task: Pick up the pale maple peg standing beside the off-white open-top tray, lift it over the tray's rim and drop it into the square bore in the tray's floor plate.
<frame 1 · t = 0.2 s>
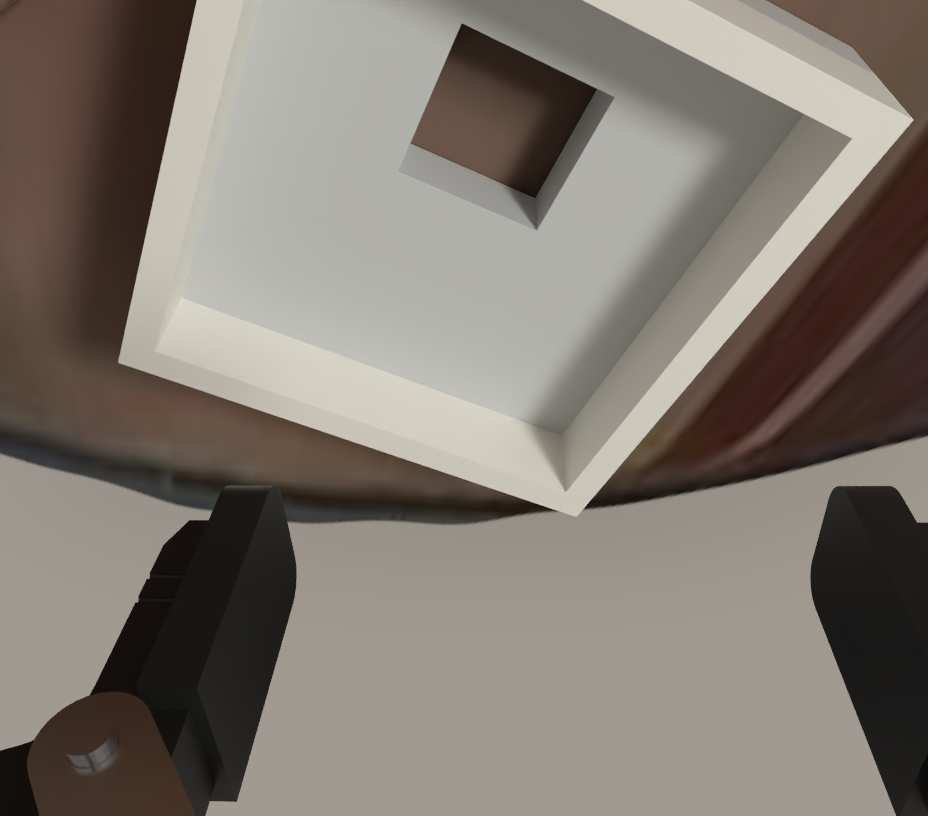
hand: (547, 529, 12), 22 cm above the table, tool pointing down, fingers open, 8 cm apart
tray: (469, 174, 33), on the table
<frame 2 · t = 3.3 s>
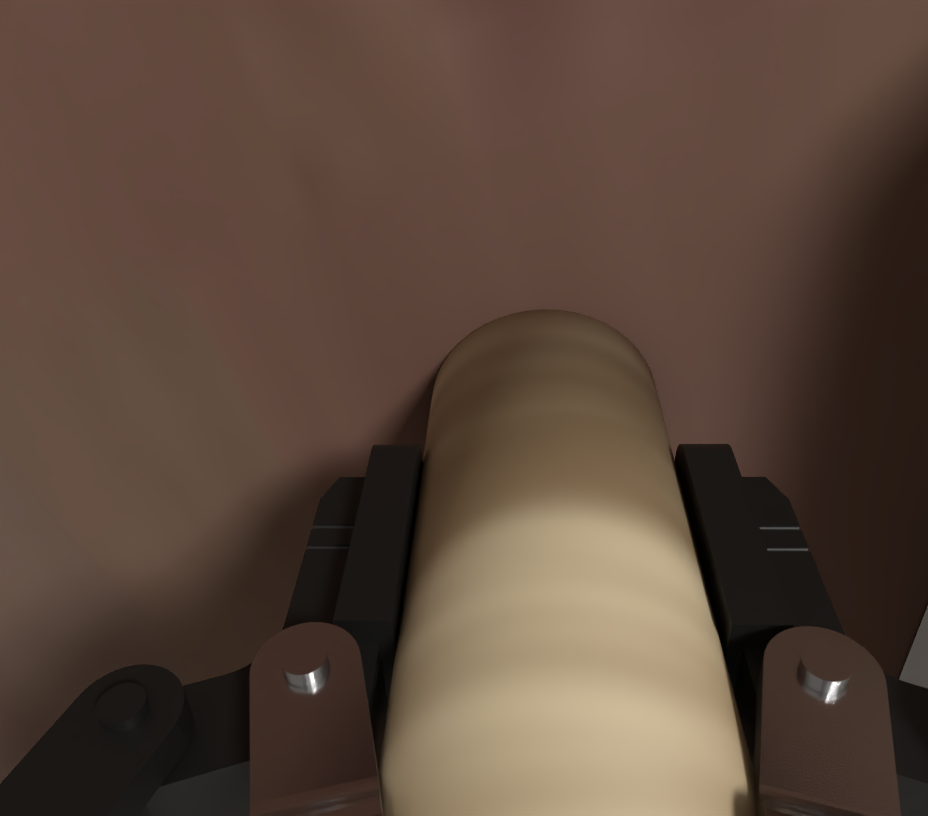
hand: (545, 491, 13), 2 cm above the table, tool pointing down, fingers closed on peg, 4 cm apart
peg: (543, 409, 15), on the table, touching gripper
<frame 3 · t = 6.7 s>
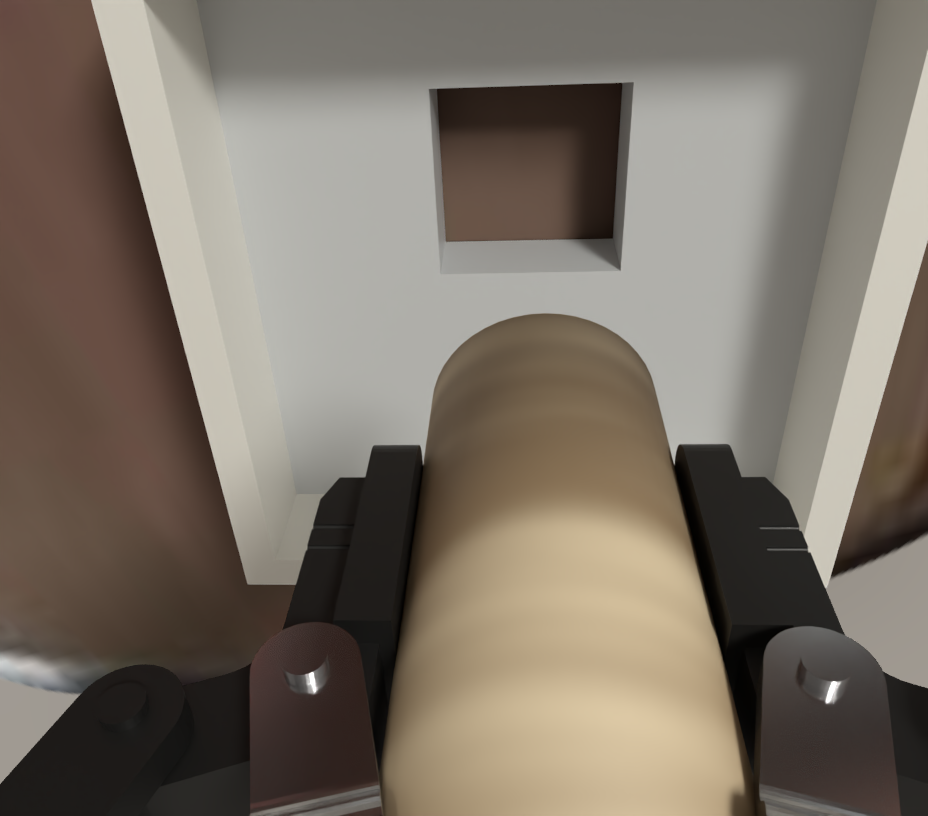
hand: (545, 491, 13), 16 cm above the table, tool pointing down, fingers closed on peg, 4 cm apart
tray: (528, 245, 28), on the table
peg: (543, 412, 15), point 14 cm above the table, touching gripper
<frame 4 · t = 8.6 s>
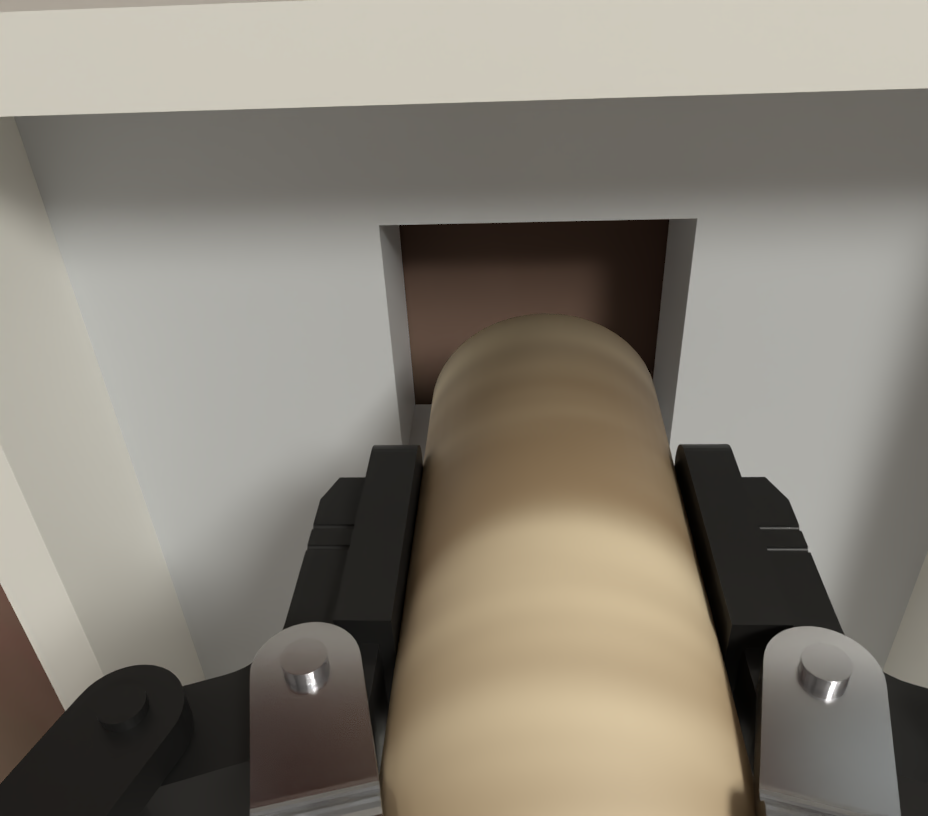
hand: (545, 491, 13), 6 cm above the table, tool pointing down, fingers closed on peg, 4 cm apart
tray: (531, 410, 20), on the table
peg: (543, 412, 15), point 4 cm above the table, touching gripper
when the fingers open (4 cm above the table, at t = 10.1 s): peg drops 2 cm, resting in tray.
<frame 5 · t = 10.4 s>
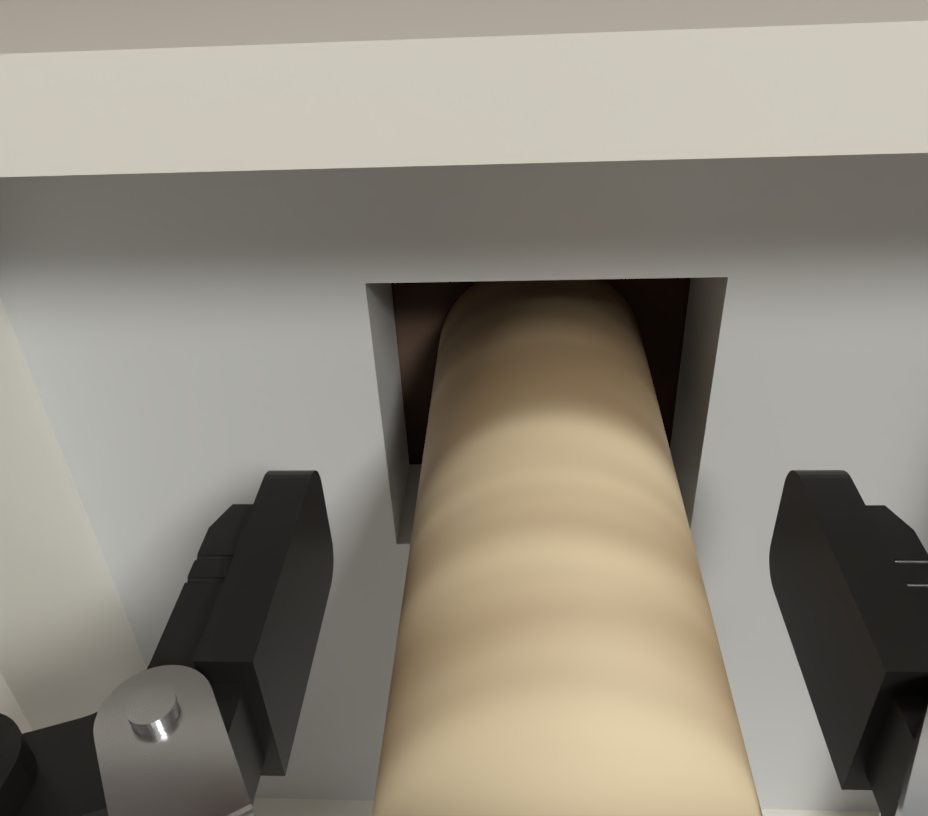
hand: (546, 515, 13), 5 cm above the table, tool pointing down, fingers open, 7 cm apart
tray: (537, 471, 18), on the table
peg: (539, 353, 17), resting in tray
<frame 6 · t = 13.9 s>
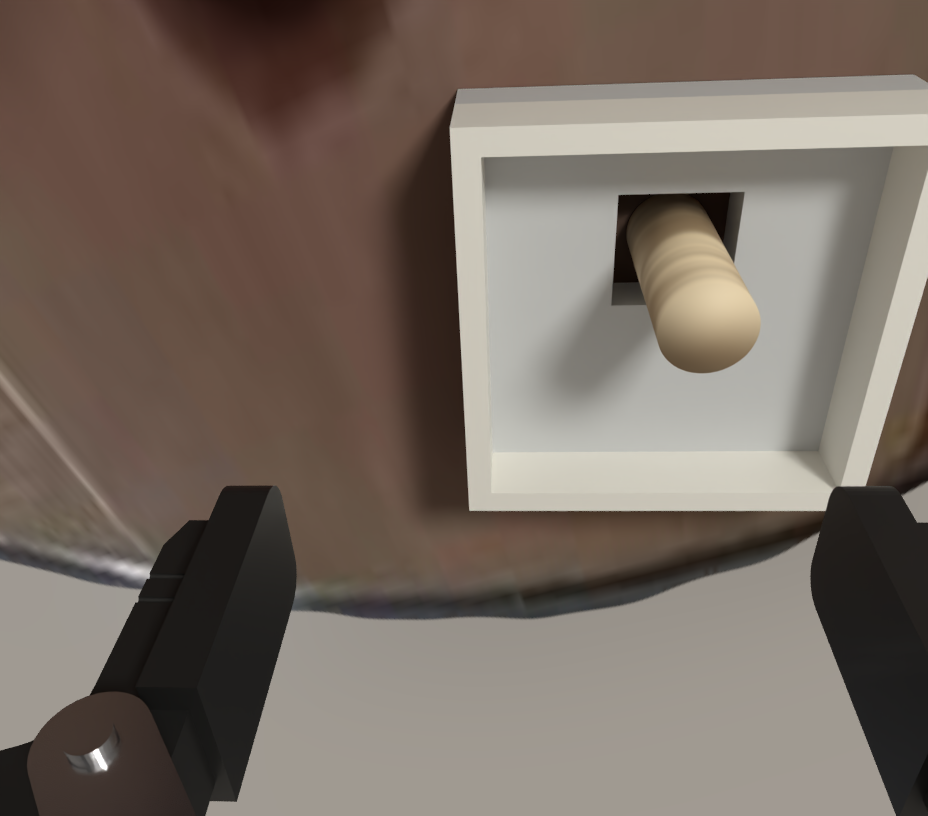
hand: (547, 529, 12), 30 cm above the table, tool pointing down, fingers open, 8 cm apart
tray: (661, 285, 43), on the table
peg: (667, 230, 41), resting in tray
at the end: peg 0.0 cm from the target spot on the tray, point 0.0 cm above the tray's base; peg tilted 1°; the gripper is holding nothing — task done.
